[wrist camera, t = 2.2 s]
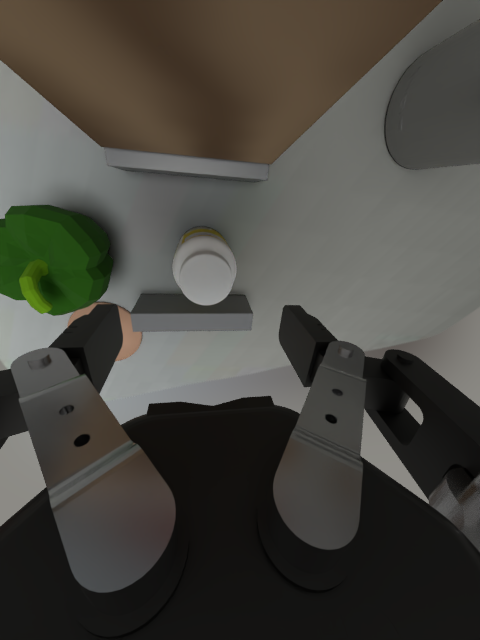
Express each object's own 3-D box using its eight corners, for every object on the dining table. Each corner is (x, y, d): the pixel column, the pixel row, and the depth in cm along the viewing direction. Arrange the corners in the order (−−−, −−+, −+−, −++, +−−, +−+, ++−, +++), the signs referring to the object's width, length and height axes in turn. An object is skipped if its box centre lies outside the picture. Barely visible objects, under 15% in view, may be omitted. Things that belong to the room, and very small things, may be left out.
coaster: (137, 302, 28) (136, 303, 27) (145, 358, 31) (144, 360, 31) (60, 301, 26) (58, 303, 26) (78, 360, 30) (76, 362, 30)
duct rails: (257, 157, 23) (270, 149, 18) (243, 310, 30) (251, 330, 26) (122, 143, 21) (101, 130, 16) (143, 310, 28) (133, 331, 24)
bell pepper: (20, 196, 22) (-101, 200, 13) (118, 205, 23) (69, 214, 14) (46, 285, 25) (-34, 334, 17) (129, 288, 27) (95, 335, 18)
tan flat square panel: (271, 164, 18) (272, 148, 18) (457, -14, 5) (475, -87, 5) (101, 146, 16) (98, 128, 16) (-321, -217, 3) (-383, -361, 3)
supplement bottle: (208, 285, 28) (212, 326, 19) (167, 255, 26) (152, 287, 17) (238, 248, 27) (256, 275, 18) (198, 213, 24) (197, 225, 16)
